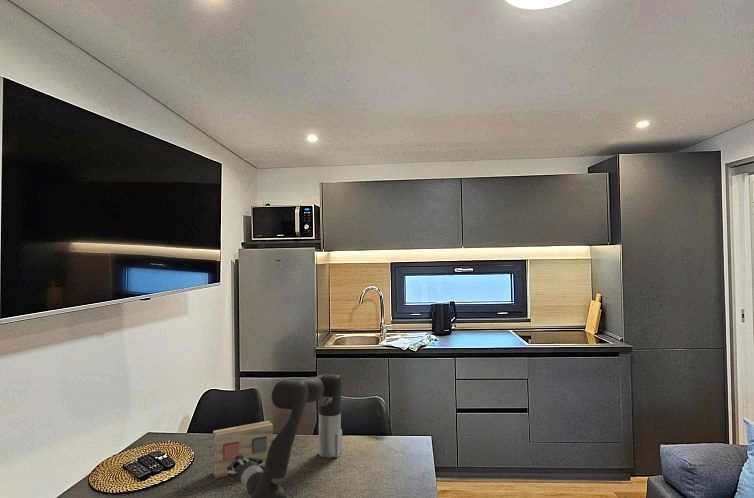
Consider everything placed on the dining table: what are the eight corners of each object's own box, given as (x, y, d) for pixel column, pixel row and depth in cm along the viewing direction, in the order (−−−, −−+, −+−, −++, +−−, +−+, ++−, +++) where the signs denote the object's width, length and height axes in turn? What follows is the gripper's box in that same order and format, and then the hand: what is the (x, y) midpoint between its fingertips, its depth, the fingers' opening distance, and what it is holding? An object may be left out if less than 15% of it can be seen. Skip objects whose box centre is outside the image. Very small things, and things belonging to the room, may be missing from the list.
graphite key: (251, 451, 182) (251, 438, 182) (264, 448, 184) (264, 435, 184) (253, 453, 179) (254, 440, 179) (266, 451, 182) (266, 438, 182)
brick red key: (223, 457, 176) (223, 444, 176) (236, 454, 178) (236, 441, 179) (224, 460, 173) (225, 446, 173) (238, 457, 176) (238, 444, 176)
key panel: (212, 473, 177) (213, 430, 177) (268, 460, 188) (268, 420, 189) (215, 478, 173) (216, 435, 173) (272, 464, 184) (273, 424, 185)
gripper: (272, 461, 156) (256, 443, 171) (232, 470, 149) (219, 451, 164) (271, 483, 156) (256, 464, 171) (232, 494, 149) (219, 472, 164)
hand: (238, 458), depth 167 cm, fingers closed
